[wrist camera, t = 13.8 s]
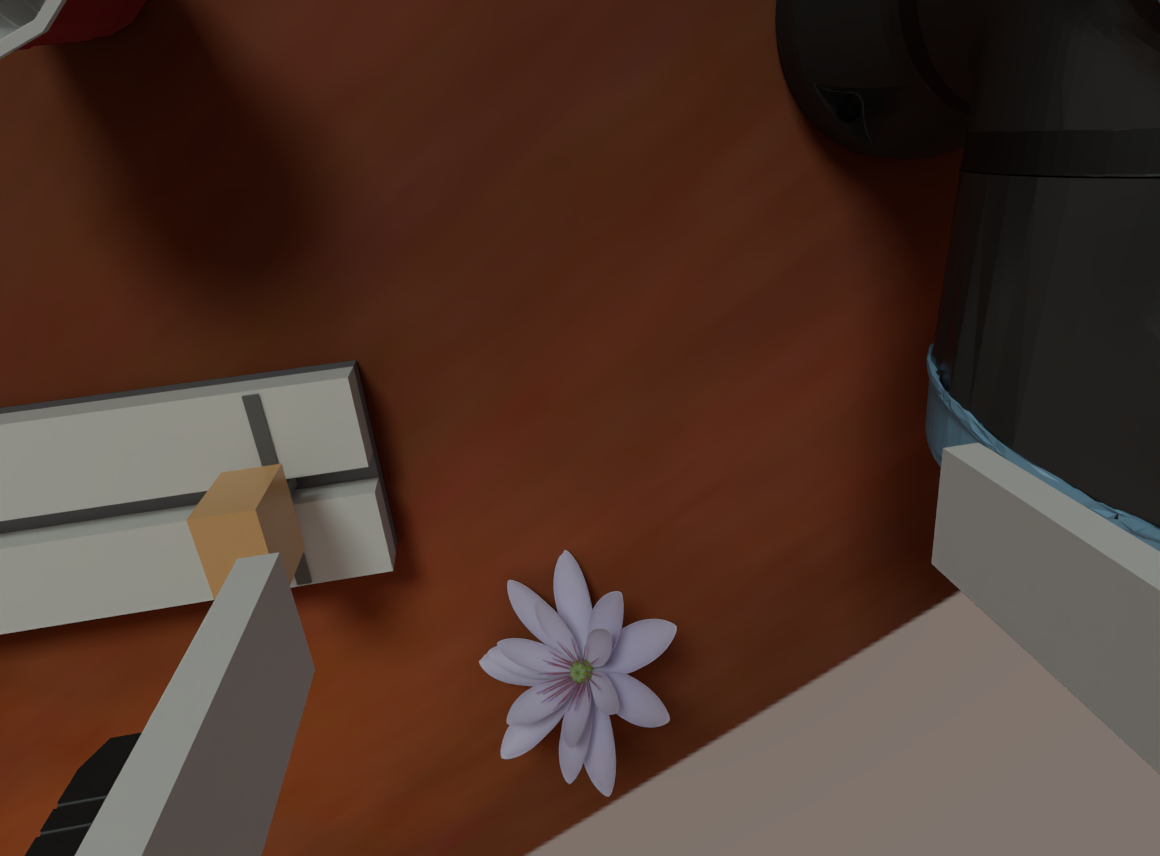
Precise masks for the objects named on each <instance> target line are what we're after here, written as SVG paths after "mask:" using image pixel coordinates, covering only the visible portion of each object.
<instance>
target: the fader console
mask: <svg viewBox="0 0 1160 856" xmlns="http://www.w3.org/2000/svg"><path fill="white" fill-rule="evenodd" d="M276 464H282V467H283V470H284V474H285V477H286V479H290V478H296V481H297V486H296V488H295V490H294V492H293V494H292V496H291V498H292V502H293V505H294V509H295V512H296V516H297V519H298V523H299V526H300V530H301V533H302V537H303V541H304V544H305V549H304V552H303V554H302V557H301V559H300V562H299V565H298V567H297V570H296V572H295V575H294V577H293V580H292V582H291V585H290V588H291V587H297V586H304V585H310V584H316V583H322V582H328V581H335V580H341V579H347V578H353V577H359V576H366V575H372V574H378V573H384V572H390V571H393V568H394V562H395V557H396V551H397V545H398V541H397V537H396V533H395V528H394V524H393V519H392V515H391V511H390V506H389V502H388V497H387V493H386V488H385V484H384V480H383V475H382V471H381V466H380V462H379V458H378V453H377V449H376V444H375V440H374V436H373V431H372V427H371V422H370V418H369V414H368V409H367V405H366V400H365V396H364V392H363V387H362V383H361V378H360V374H359V370H358V365H357V361H356V360H354V361H347V362H339V363H332V364H324V365H317V366H309V367H302V368H294V369H287V370H280V371H272V372H265V373H257V374H250V375H242V376H235V377H228V378H220V379H213V380H205V381H198V382H190V383H183V384H175V385H168V386H161V387H153V388H146V389H138V390H131V391H123V392H116V393H108V394H101V395H94V396H86V397H79V398H71V399H64V400H56V401H49V402H41V403H34V404H27V405H19V406H12V407H4V408H0V634H6V633H13V632H19V631H25V630H31V629H37V628H44V627H50V626H56V625H62V624H68V623H75V622H81V621H87V620H93V619H99V618H106V617H112V616H118V615H124V614H130V613H136V612H143V611H149V610H155V609H161V608H167V607H174V606H180V605H186V604H192V603H198V602H205V601H211V600H214V598H213V595H212V592H211V589H210V586H209V583H208V581H207V578H206V575H205V572H204V569H203V566H202V564H201V561H200V558H199V555H198V552H197V549H196V546H195V544H194V541H193V538H192V535H191V532H190V529H189V527H188V524H187V521H186V520H187V518H188V517H189V516H190V514H191V513H192V512H193V510H194V509H195V507H196V506H197V505H198V503H199V502H200V501H201V499H202V498H203V497H204V495H205V494H206V493H207V491H208V490H209V488H210V487H211V486H212V484H213V483H214V482H215V480H216V479H217V478H218V476H219V475H220V473H221V472H228V471H235V470H241V469H248V468H255V467H262V466H269V465H276Z"/></svg>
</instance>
